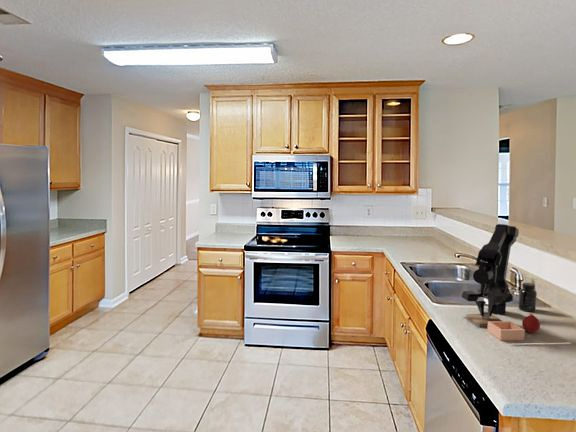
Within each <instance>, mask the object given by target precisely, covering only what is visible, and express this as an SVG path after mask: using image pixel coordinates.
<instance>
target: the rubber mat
mask: <svg viewBox="0 0 576 432" xmlns="http://www.w3.org/2000/svg"><path fill="white" fill-rule="evenodd" d="M462 318H464V319H465V320H466V321H467V322H468V323H470V324H472V325H473V326H474V327H476V328H477V329H487V328H488V327H479V326H478V325H476V324H475V323H474V322H472V321H471V320H470V319H468V318H467V317H466V316H462Z"/></svg>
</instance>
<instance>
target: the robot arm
mask: <svg viewBox="0 0 576 432" xmlns="http://www.w3.org/2000/svg"><path fill="white" fill-rule="evenodd" d="M518 237H519V228H517V226H514V225H509V224H504V223H503V224H502V223H497V224H495V229H494V231H493V233H492V235H491V238H490V240H489V241H488V242H487V243H486V244H483V245H482V247H481V249H480V250H479V251H478V255H477V257H476V261H475V266H478V269H476V270H474V272H473V274H472V278H473V280H474V282H475V283H477V284H479V289H478V290H477V292H478V293H477V292H475V291H472V290H463V291H462V293H461V298H462V299H465V300H466V301H468V302H475V304H476V306H477V309H478V311H479V314H481V316H482V317H483V316H484V311H485V304H486V303H487V312H489V313H490V317H491V315H494V316H498V315H500V316H501V315H509V313H507V312H506V309H507V306H506V305H507V303H511V302H512V301H514V295H513V294H512V293H511V292H510V288H509V287H510V286H509V285H510V284H508V282H507V272H508V267H509V266H508V265H509V260H510V253H511V247H512V246H513V245H514V244H515V243H516V242H517V238H518ZM484 299H487V302H486V301H485V300H484Z"/></svg>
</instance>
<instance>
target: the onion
mask: <svg viewBox="0 0 576 432" xmlns="http://www.w3.org/2000/svg"><path fill="white" fill-rule="evenodd" d="M521 322H522V323H521V324H522V326H523V327H522V328H523V329H524V330H525V332H528V334H534V333H537V332H538V331H539V329H540V327H541V323H540V321H539V319H538V318H537V316H535V315H534V314H533V312H529V315H527V316H525V317H524V318H523V320H522V321H521Z"/></svg>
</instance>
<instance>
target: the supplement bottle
mask: <svg viewBox="0 0 576 432" xmlns="http://www.w3.org/2000/svg"><path fill="white" fill-rule="evenodd" d="M521 287H522V288H520V289H519V291H518V292H519V294H518V309H519V310H520V311H523V312H527V313H533V312H536V311H537V309H536V308H537V295H538V294H537V290H536V288H535V287H536V284H535V283H532V282H522V286H521Z"/></svg>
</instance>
